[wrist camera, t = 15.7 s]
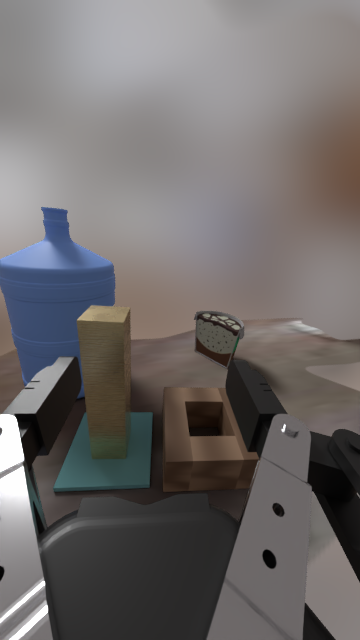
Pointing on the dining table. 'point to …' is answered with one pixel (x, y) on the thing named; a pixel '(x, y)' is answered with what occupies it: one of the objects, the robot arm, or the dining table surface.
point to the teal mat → (108, 461)
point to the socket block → (203, 442)
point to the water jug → (52, 294)
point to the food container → (217, 336)
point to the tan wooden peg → (106, 378)
